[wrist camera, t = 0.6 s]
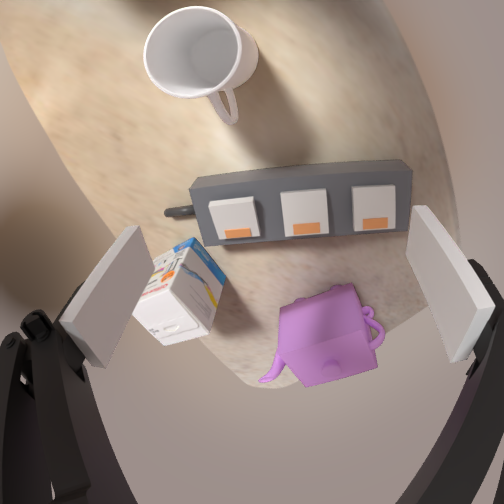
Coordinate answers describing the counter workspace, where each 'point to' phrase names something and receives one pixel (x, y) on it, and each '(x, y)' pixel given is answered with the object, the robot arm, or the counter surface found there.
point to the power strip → (292, 179)
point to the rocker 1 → (235, 217)
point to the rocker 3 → (373, 207)
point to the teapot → (326, 337)
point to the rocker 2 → (305, 212)
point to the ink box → (181, 294)
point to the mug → (200, 57)
